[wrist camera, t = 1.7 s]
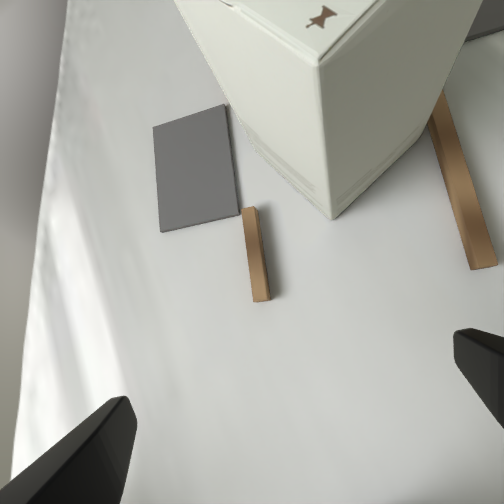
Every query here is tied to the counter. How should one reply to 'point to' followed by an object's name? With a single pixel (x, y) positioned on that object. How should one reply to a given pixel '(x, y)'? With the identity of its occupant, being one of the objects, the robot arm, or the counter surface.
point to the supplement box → (331, 81)
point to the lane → (457, 188)
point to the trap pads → (226, 154)
